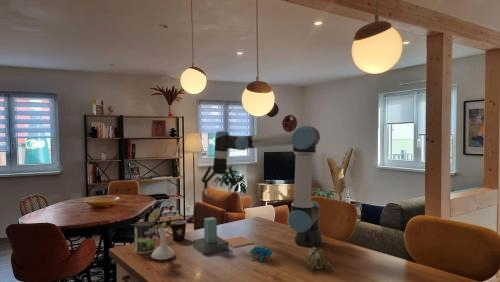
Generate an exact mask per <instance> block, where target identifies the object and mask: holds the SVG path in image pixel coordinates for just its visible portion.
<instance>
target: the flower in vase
mask: <svg viewBox="0 0 500 282" xmlns="http://www.w3.org/2000/svg"><path fill="white" fill-rule="evenodd" d="M160 214H161V208H159V207H157V208H154V209H153V210H152V212H151V213H150V214H149V216H148V218H147V221H149V222H150V221H151V222H155V221H156V220H157V223H158V224H155V226H154V227H153V228H152V229H155V230H157V232H158V234H159V237H160V243H159V246H157V248H155V250H154V251H152V252H151V255H150V256H151V258H152V259H154V260H158V261H161V260H162V261H165V260H168V259H171V258H173V257H174V256H175V254H176V252H175V250H174V249H172V248H171V247H170V246H168V245H167V243H166V237H167V236H166V234H167V232H169V231H168V230H169V228H165V227H166V226H167V221H164V222H162V223H160V221H159V219H158V218H159V216H160ZM158 228H159V229H158Z"/></svg>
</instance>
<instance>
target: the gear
mask: <svg viewBox="0 0 500 282" xmlns="http://www.w3.org/2000/svg"><path fill="white" fill-rule="evenodd" d="M249 254H250V256H251V259H250V260H251V261H254V257H259V263H262V262H263V258H267V257H268V258H269V257H271V256H272V255H273V251H272V250H271V249H270V248H269V247H265V246H262V247H261V246H260V245H259V246H253V247H252V248H251V250H249Z"/></svg>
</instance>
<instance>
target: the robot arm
mask: <svg viewBox="0 0 500 282" xmlns="http://www.w3.org/2000/svg"><path fill="white" fill-rule="evenodd" d="M214 137H215V138H214V152H213V153H214V154H213V156H214V158H213V165H212V166H211V165H208V166H207V169H206V171H205V173H204V175H203V176H202V178H201V182H202V183H203V188H204V189H205V195H206V196H208V195H209V194H208V193H209V181H210V180H212V178H213V177H214V176H215V175H224V176H225V177H226V179H227V180H228V181H229V182H228V188H227V189H228V191H227V194H228V195H230V196H231V192H232V189H233V188H234V187H233V186H234V183H237V179H236V177H235V174H234V173H233V170H232V169H233V166H231V165H230V166H229V165H227V164H228V163H227V162H228V159H227V158H228V150H229V149H230V150H239V151H246V150H247V149H257V148H270V147H284V146H285V147H286V146H292V152H293V153H294V155H295V160H294V161H295V163H294V164H295V165H294V167H295V169H294V191H293V193H294V195H293V197H294V199H293V201H292V202H291V203H290V213H289V215H288V217H287V223H288V225H289V227H290V228H291V229H292V230H293V231H294V232H296V234H295V236H294V243H295V244H296V245H298V246H301V247H305V248H306V247H307V248H313V247H315V248H317V247H320V246H322V245H323V238H322V234H321V231H320V204H319V202H317V201H312V179H313V178H312V177H313V156H314V155H315V154H316V152H317V145H318V144H319V141H320V140H321V139H320V138H321V136H320V132H319V130H318V129H317V128H316V127H314V126H310V125H299V126H298V127H296V128H294V130H292V131H289V132H287V131H286V132H274V133H265V134H264V133H263V134H253V135H230V133H229V132H228V131H225V130H224V131H223V130H222V131H221V130H218V131H216V132H215V136H214ZM212 170H213V171H212ZM227 170H228V172H229V174H228V173H227V172H226V171H227ZM210 172H211V173H210ZM229 175H230V176H229Z"/></svg>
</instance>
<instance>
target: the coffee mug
mask: <svg viewBox="0 0 500 282" xmlns="http://www.w3.org/2000/svg"><path fill="white" fill-rule="evenodd" d="M167 227H169V228H170V229H171V233H170V232H169V231H167V232H166V234H168V235H170V236H172V241H174V242H183V241H185V239H186V238H185V237H186V228H187V221H186V220H179V219H178V220H173V221H170V225H166V226H165V227H164V228H165V229H167Z"/></svg>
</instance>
